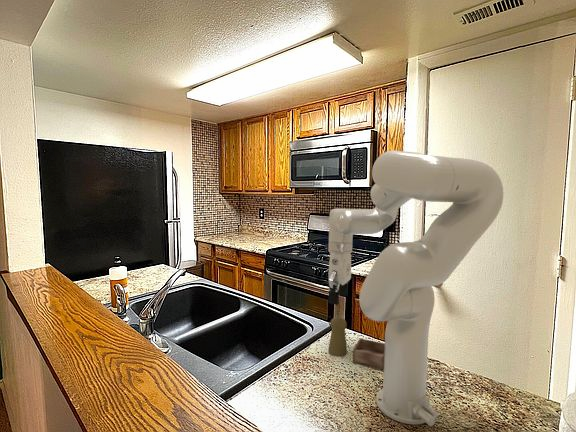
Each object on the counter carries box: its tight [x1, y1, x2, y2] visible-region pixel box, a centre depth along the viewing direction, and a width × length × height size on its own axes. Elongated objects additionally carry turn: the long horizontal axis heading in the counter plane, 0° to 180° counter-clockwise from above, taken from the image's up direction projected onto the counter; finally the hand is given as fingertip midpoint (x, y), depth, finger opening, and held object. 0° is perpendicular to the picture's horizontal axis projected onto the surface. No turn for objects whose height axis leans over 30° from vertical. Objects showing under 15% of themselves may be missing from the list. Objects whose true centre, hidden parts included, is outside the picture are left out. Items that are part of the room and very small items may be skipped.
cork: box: [328, 317, 348, 358], centre depth 100 cm, size 6×6×11 cm
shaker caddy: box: [352, 338, 385, 371], centre depth 96 cm, size 9×9×4 cm
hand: (338, 299), depth 100 cm, fingers open, 9 cm apart
